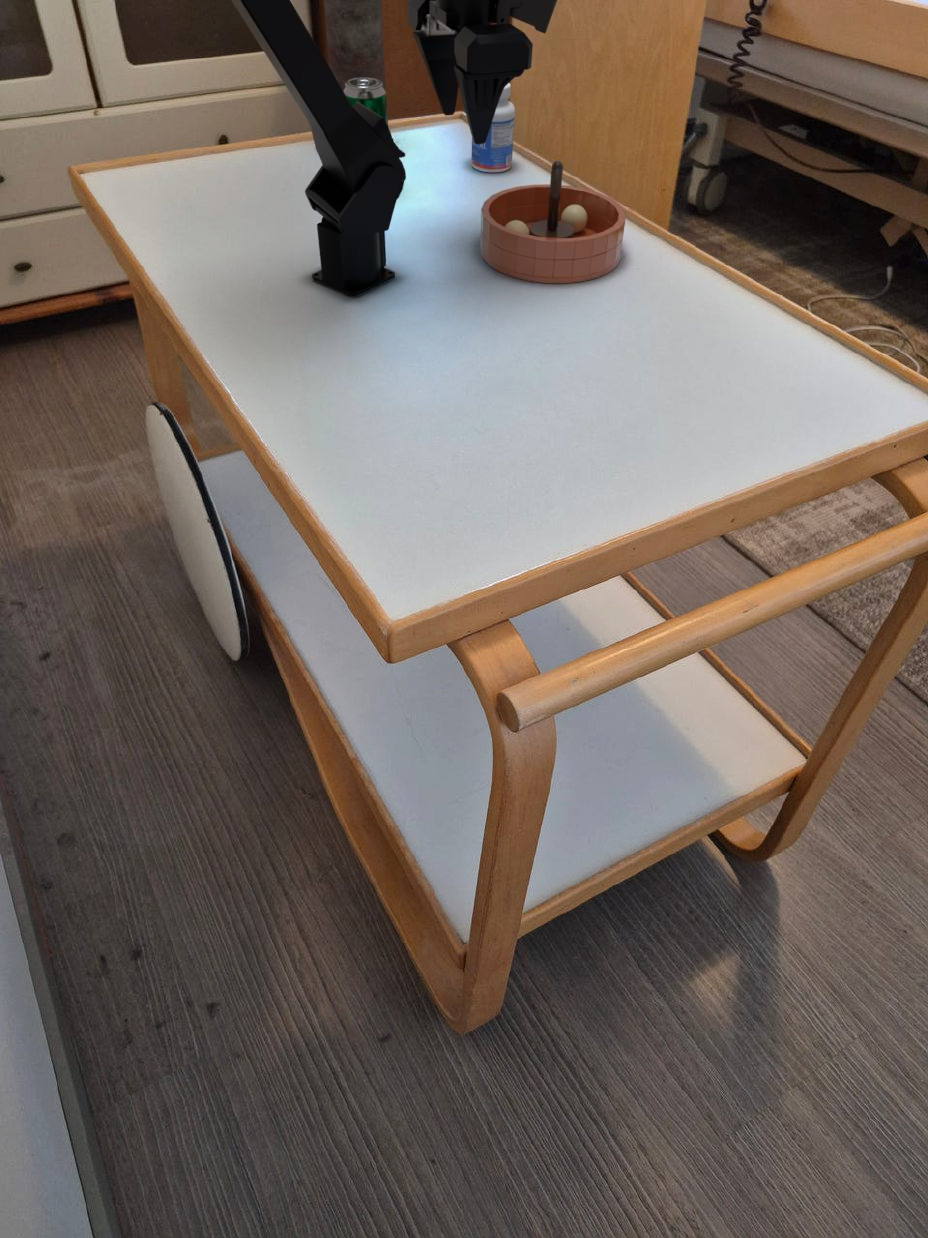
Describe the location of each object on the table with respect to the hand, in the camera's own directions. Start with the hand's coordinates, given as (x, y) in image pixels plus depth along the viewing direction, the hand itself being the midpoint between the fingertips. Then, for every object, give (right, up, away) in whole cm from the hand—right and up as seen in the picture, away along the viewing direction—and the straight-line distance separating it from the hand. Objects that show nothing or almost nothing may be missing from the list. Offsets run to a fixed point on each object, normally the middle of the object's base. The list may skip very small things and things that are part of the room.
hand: (463, 128), depth 91 cm
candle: (-14, +16, +33) cm, 39 cm away
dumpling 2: (+13, -4, +11) cm, 17 cm away
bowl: (+10, -8, +10) cm, 16 cm away
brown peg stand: (+10, -8, +10) cm, 16 cm away
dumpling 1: (+6, -7, +8) cm, 12 cm away
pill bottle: (+4, +10, +29) cm, 31 cm away
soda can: (-12, +4, +22) cm, 25 cm away
